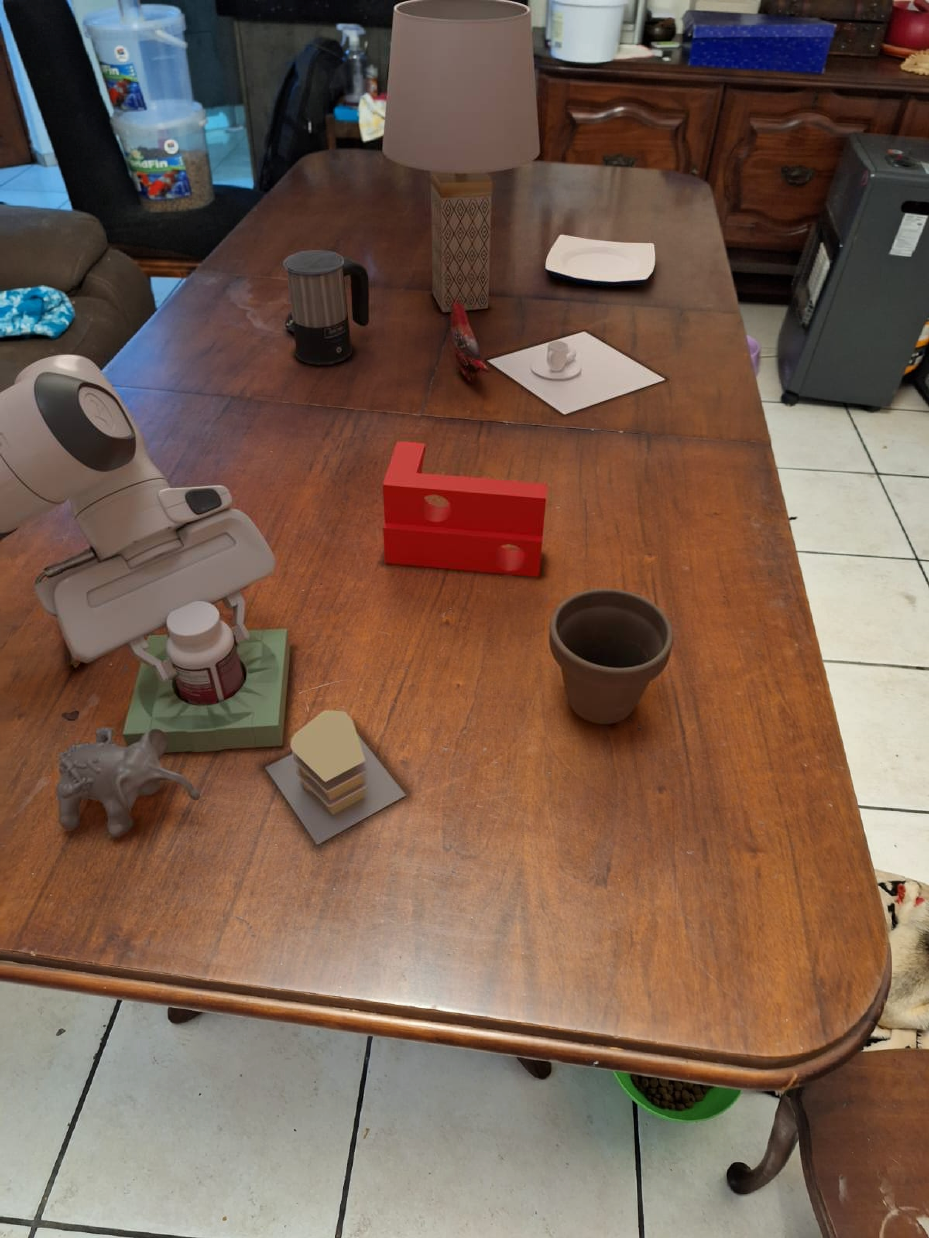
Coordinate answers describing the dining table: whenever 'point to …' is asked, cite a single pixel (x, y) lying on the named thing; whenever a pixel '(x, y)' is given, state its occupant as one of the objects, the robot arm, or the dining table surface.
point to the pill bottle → (203, 654)
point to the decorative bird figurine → (465, 342)
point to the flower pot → (608, 650)
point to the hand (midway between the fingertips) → (207, 660)
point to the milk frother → (324, 304)
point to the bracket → (460, 519)
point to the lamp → (461, 123)
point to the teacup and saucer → (575, 372)
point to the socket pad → (221, 725)
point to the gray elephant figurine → (113, 777)
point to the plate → (600, 261)
